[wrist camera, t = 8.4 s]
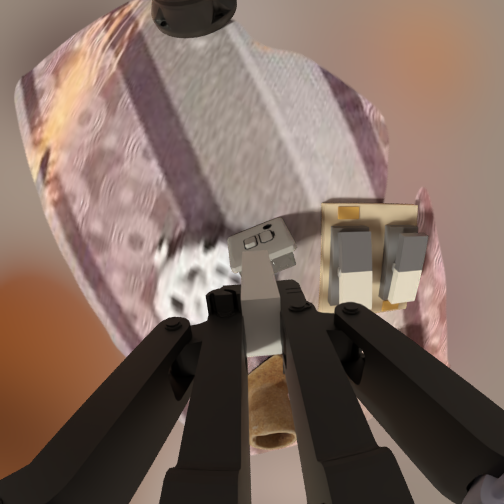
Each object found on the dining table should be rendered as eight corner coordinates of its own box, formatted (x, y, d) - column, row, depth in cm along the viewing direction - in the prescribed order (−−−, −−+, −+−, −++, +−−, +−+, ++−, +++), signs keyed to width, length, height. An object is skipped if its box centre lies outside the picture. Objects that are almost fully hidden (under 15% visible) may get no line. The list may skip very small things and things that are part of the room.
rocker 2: (397, 231, 39) (404, 236, 37) (420, 231, 39) (428, 236, 37) (385, 296, 44) (391, 304, 41) (408, 294, 44) (414, 300, 42)
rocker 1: (336, 233, 41) (341, 232, 39) (364, 232, 41) (370, 231, 39) (337, 309, 41) (342, 312, 39) (365, 306, 42) (371, 309, 39)
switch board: (321, 202, 43) (328, 205, 39) (411, 204, 43) (423, 206, 40) (317, 314, 48) (323, 324, 45) (401, 304, 49) (410, 312, 45)
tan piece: (264, 411, 55) (268, 462, 41) (224, 387, 53) (220, 441, 38) (315, 374, 53) (332, 426, 38) (276, 346, 50) (286, 401, 36)
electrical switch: (280, 215, 44) (292, 231, 35) (291, 243, 46) (304, 266, 37) (226, 237, 44) (224, 258, 36) (239, 264, 46) (239, 290, 38)
